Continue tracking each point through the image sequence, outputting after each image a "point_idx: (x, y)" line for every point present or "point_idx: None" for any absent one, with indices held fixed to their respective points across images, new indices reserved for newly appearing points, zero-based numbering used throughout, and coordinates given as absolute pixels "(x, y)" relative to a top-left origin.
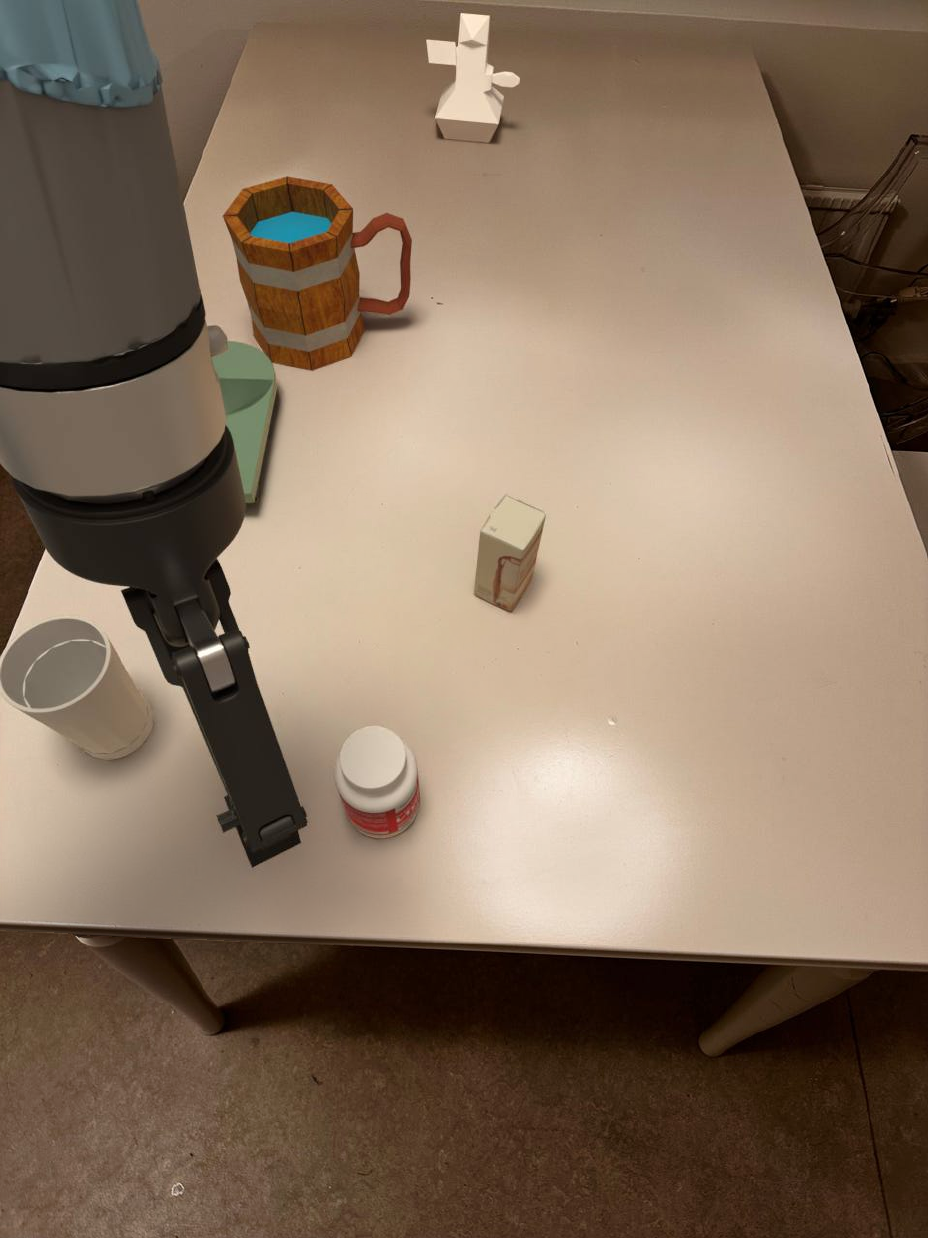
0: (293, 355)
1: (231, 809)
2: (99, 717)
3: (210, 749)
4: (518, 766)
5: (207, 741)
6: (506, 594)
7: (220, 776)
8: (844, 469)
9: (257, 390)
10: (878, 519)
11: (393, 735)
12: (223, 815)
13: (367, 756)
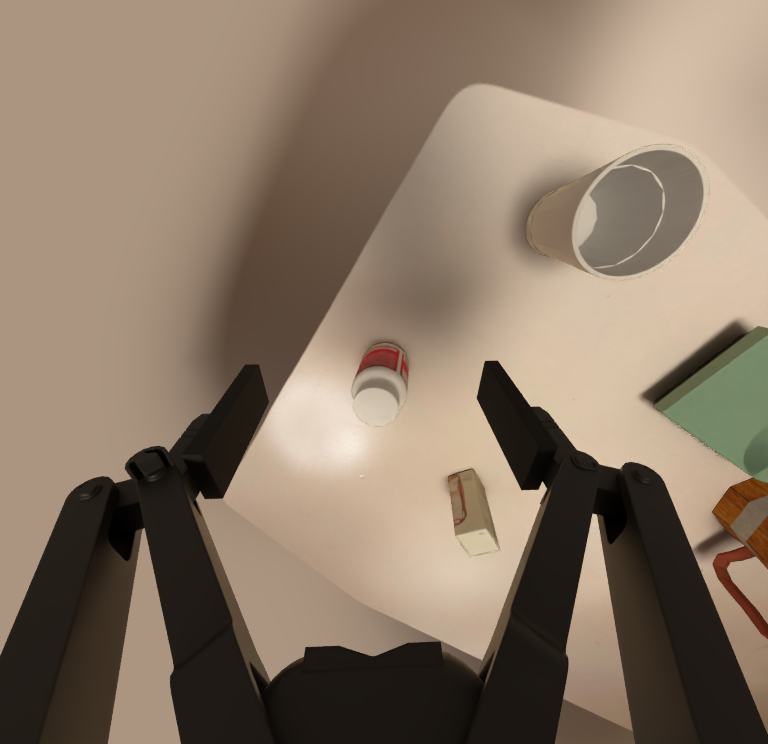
0: (759, 489)
1: (152, 477)
2: (553, 230)
3: (151, 559)
4: (365, 430)
5: (56, 653)
6: (453, 488)
7: (144, 524)
8: (415, 614)
9: (755, 462)
10: (384, 606)
11: (381, 424)
12: (158, 461)
13: (377, 405)
